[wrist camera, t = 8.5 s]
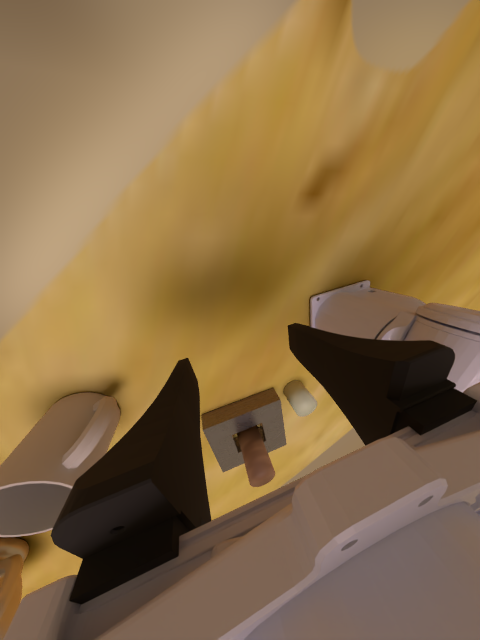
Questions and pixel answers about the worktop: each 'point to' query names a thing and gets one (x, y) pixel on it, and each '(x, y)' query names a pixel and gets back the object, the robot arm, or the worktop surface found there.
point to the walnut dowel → (255, 457)
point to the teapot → (10, 578)
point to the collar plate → (244, 426)
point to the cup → (54, 461)
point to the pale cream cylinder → (299, 398)
